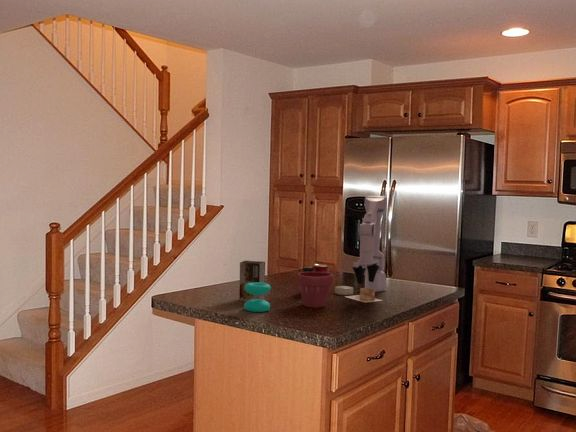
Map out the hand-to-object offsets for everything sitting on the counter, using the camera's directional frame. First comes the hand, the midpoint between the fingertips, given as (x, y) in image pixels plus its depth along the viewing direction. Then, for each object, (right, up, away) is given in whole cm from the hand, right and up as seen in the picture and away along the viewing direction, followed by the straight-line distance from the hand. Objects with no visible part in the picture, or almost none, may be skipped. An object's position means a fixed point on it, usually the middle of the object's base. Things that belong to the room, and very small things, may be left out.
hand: (365, 282), depth 247 cm
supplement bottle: (-25, -6, +8) cm, 27 cm away
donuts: (-45, -8, -26) cm, 53 cm away
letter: (-1, -7, +1) cm, 7 cm away
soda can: (-19, -6, +15) cm, 25 cm away
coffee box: (-48, -7, -9) cm, 49 cm away
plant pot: (-23, -8, -15) cm, 28 cm away
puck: (-8, -7, +11) cm, 16 cm away
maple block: (+1, -7, -1) cm, 7 cm away
